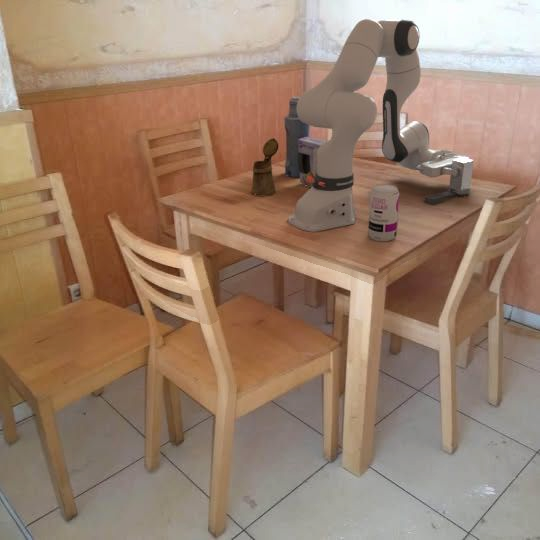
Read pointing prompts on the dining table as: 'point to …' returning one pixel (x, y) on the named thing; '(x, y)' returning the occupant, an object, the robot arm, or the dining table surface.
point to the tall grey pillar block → (461, 174)
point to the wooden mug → (264, 171)
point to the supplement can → (383, 212)
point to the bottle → (293, 138)
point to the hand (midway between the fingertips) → (464, 170)
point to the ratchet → (445, 196)
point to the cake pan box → (308, 158)
